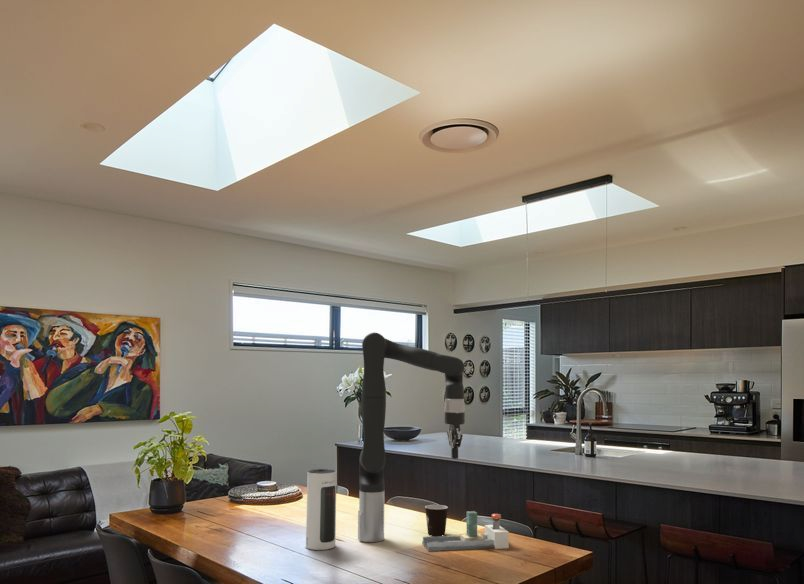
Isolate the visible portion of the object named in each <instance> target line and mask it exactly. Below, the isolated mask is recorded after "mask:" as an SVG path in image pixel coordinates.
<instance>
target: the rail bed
mask: <svg viewBox="0 0 804 584" xmlns="http://www.w3.org/2000/svg"><path fill="white" fill-rule="evenodd" d="M479 534H480V533H479ZM480 535H482V536H483V537H484V540H460V534H459V535H456V534H455V535H444V536H430V535H428V536H422V541H421V544H422V545H423V547H424V548H425V547H426V548H425V549H426V550H427V551H428V552H441V550H449V551H468V550H488V549H489V550H492V549H491V548H493V549H495V545H494V540H493V539H487V535H486V534H485V533H483V534H482V533H481V534H480Z"/></svg>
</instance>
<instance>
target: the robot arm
mask: <svg viewBox="0 0 804 584" xmlns="http://www.w3.org/2000/svg"><path fill="white" fill-rule="evenodd" d="M361 348H362V355H363V377H362V383H361V384H362V385H361V400H360V401H361V405H360V406H361V409H360V411H361V420H362V421H361V422H362V427H363V447H362V450H361V451H360V454H359V463H358V464H359V465H358V467H359V470H358V473H359V474H358V476H359V477H358V479H359V480H358V481H359V483H358V484H359V495H358V497H359V498H358V499H359V500H358V501H359V502H358V503H359V507H358V508H359V510H358V512H357V516H358V517H357V539H358V540H359V542H366V543H376V542H377V543H378V542H382V541H384V539H385V487H386V486H385V485H386V484H385V476H384V475H385V474H384V473H385V465H386V462H387V458H386V457H387V456H386V451H385V422H386V412H387V410H386V409H387V408H386V407H387V391H386V381H385V375H384V374H385V373H384V367H385V366H384V364H385V359H391V360H396V361H399V362H403V363H406V364H409V365H410V366H411V365H412V366H414V367H418V368H421V369H425V370H429V371H436V372H440V373H442V374H444V380H445V381H444V382H445V388H444V389H445V391H444V392H445V393H444V394H445V395H444V397H445V399H444V424H445V425H449V427H448V428H447V429H448V431H447V432H446V434H447V439H448V444H449V447H450V449H451V450H450V451H451V454H450V455H451V458H452V459H453V460H458V459H459V448H460V447H461V445H462V440H463V433H462V429H461V425H465V423H466V422H465V421H466V420H465V419H466V417H465V416H466V415H465V414H466V413H465V412H466V411H465V408H466V407H465V406H466V405H465V400H464V399H465V392H464V391H465V389H464V384H463V383H464V381H463V378H464V377H463V376H464V375H463V373H464V371H465V363H464V362H463V360H462V359H460V358H458V357H456V356H451V355H448V354H447V355H446V354H440V353H438V352H435V351H431V350H428V349H423V348H421V347H416V346H415V347H414V346H410V345H404V344H400V343H397V342H394V341H393V340H390V339H387V338H385V337H384V336H383V335H382V334H381V333H378V332H370V333H368V334H367V335H365V336H364V338H363V340H362V343H361Z"/></svg>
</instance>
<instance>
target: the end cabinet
mask: <svg viewBox="0 0 804 584" xmlns="http://www.w3.org/2000/svg"><path fill="white" fill-rule="evenodd" d="M484 534H486V535H487V539H493V540H494V545H495V548H494V550H499V549H509V548H510V547H509V546H510V545H509V544H510V543H509V542H510V541H509V540H510V539H509V538H510V536H509V531H508V530H507V529H505V527H502V526H501V525H500V529H496V530H493V524H484Z"/></svg>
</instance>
